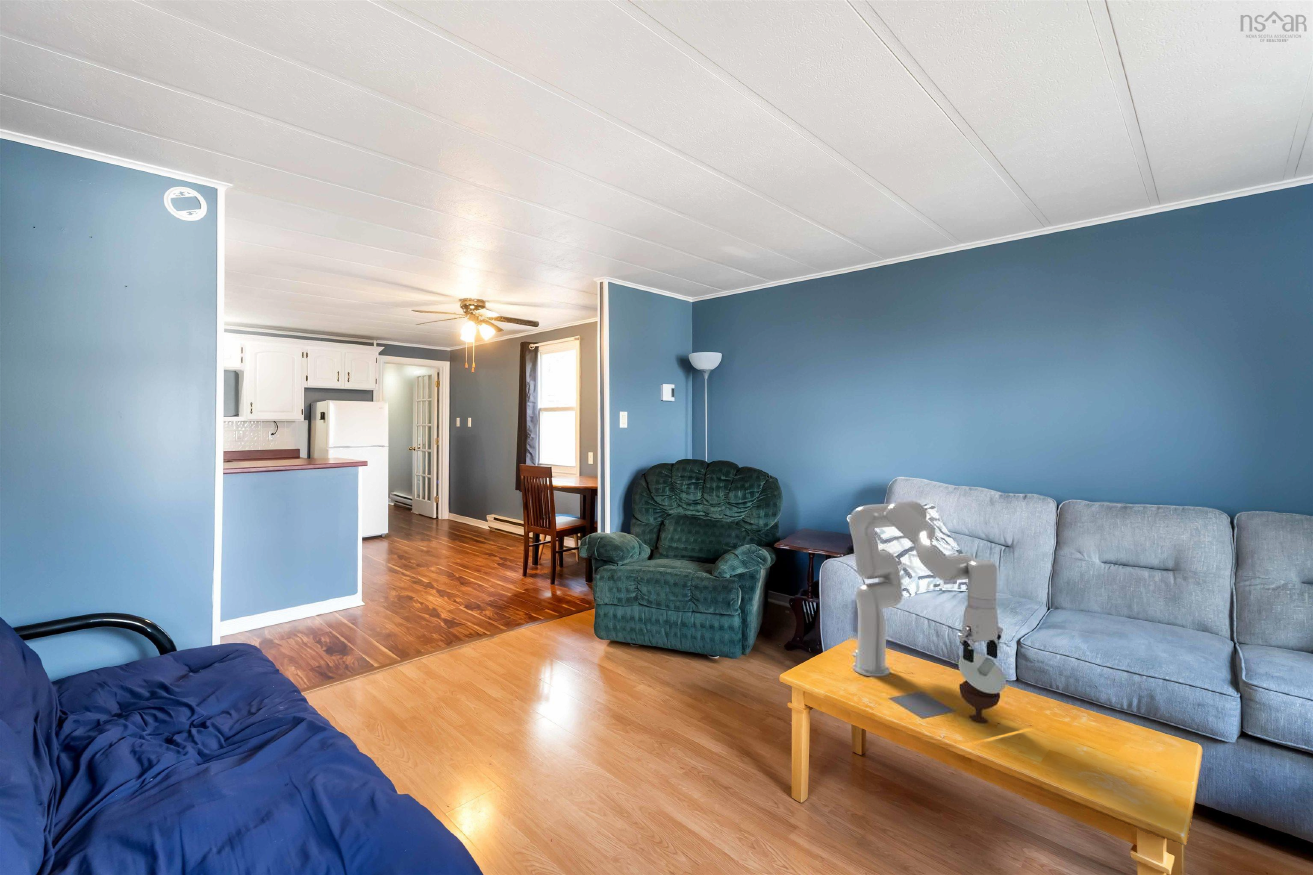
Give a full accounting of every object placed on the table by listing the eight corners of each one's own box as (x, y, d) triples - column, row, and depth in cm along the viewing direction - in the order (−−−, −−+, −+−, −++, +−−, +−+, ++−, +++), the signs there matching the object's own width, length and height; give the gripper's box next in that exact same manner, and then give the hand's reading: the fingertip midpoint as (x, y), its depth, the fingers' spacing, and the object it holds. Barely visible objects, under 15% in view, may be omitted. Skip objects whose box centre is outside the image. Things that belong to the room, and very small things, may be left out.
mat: (887, 699, 186) (887, 697, 186) (921, 693, 192) (921, 691, 192) (922, 720, 173) (922, 718, 173) (956, 712, 179) (956, 710, 178)
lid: (949, 658, 176) (957, 646, 173) (983, 650, 180) (991, 639, 176) (979, 697, 166) (988, 686, 163) (1014, 688, 170) (1023, 677, 166)
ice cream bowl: (958, 724, 171) (959, 674, 171) (958, 708, 181) (959, 661, 181) (1000, 734, 166) (1001, 682, 166) (997, 717, 176) (999, 668, 176)
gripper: (991, 596, 180) (989, 650, 180) (949, 601, 173) (948, 657, 174) (1013, 602, 173) (1012, 659, 173) (971, 608, 166) (969, 667, 167)
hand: (980, 658), depth 173 cm, fingers open, 9 cm apart
